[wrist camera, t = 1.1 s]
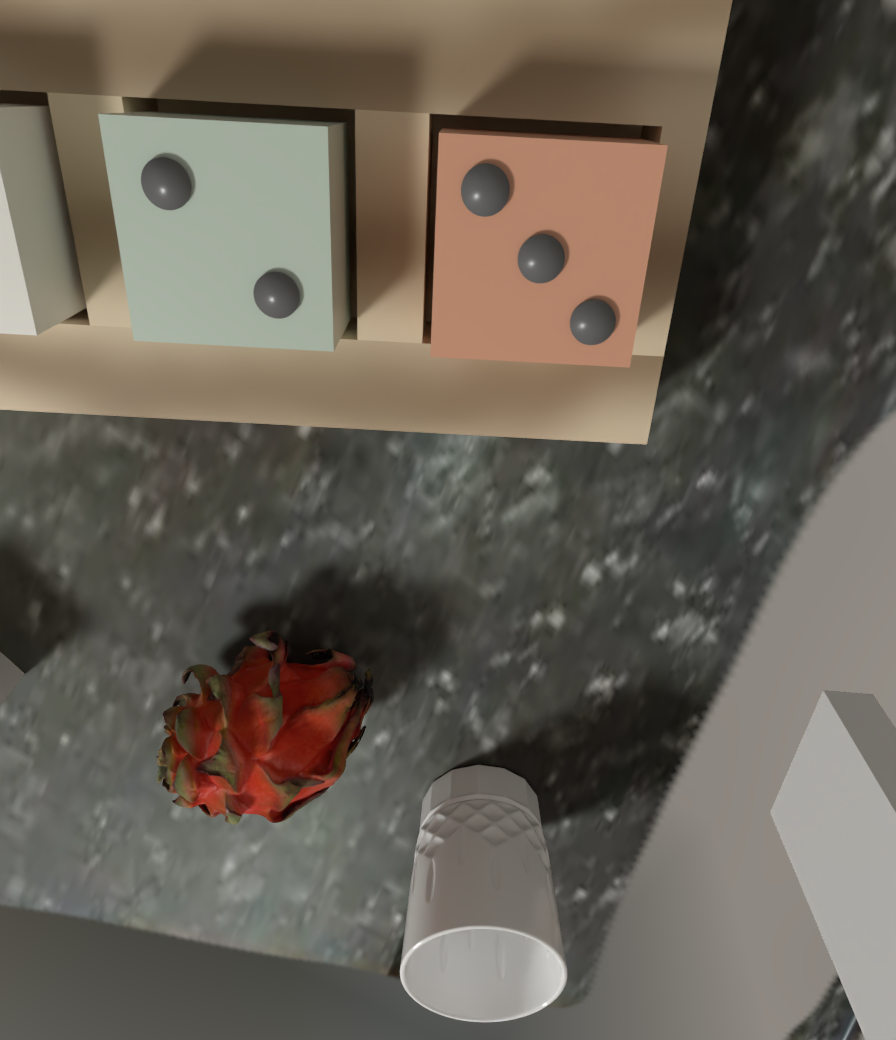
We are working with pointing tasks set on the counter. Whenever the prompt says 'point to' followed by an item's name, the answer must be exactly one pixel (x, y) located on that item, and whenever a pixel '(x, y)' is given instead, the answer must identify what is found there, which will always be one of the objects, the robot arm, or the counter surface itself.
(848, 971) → the robot arm
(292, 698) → the dragon fruit
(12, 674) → the white cube
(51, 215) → the key one
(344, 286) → the key two
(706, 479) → the counter surface
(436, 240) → the key three
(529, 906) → the white cup
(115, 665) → the counter surface
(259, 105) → the key panel
